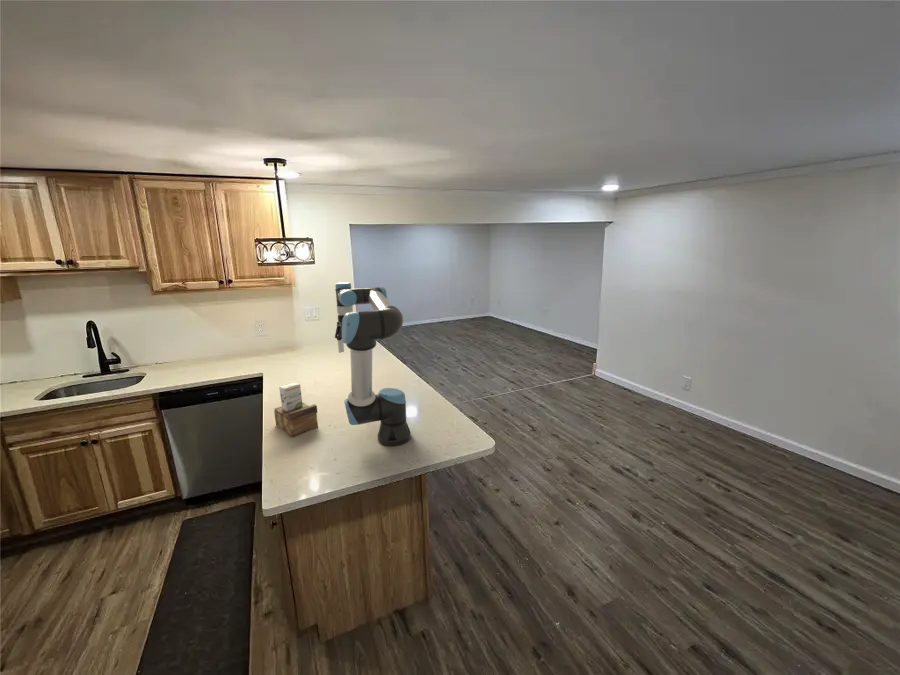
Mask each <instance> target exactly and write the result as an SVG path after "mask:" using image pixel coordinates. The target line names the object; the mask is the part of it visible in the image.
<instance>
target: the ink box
mask: <svg viewBox="0 0 900 675" xmlns="http://www.w3.org/2000/svg"><path fill="white" fill-rule="evenodd" d="M278 388H279V396H280V404H281V407H282V409H283V410H285V411H290V410H293V409H295V408H298V407H301V406H303V405H302V402H303V397H302V390H301V384H300V383H298V382H295V381H294V382H292V383H288V384H285V385H281V386H279V387H278Z"/></svg>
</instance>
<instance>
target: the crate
mask: <svg viewBox="0 0 900 675" xmlns="http://www.w3.org/2000/svg"><path fill="white" fill-rule="evenodd" d="M273 411H274V412H273V413H274V419H275V426H277V427H278V428H279V429H281V430H282V431H283V432H285V434H287V435H288V436H290V437H291V438H294V437H296V436H300V435H302V434H305V433H308V432H310V431H313V430H316V429H318V428H319V423H318V414H317V413H318V412H317V413H315V414H312V415H309V416H306V417H303V418H301V419H298V420H295V421H292V422H291V421H289V420H288V419H287V418H285V417H284V416H282V415H281V414H279V413H278V412H277V411H275V409H273Z"/></svg>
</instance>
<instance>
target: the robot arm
mask: <svg viewBox="0 0 900 675" xmlns="http://www.w3.org/2000/svg"><path fill="white" fill-rule="evenodd" d="M334 288H335V289H334V291H335V298H336V312H337V321H336V329H335V335H334V339H336V340H337V345H338V353H339V354H340V353H345V346H344V344H345V345H346V347H347V348H348V349H350V351H349V352H350V381H351V382H350V383H351V390H350V392H349V394H348V396H347V398H345V399H344V407H345V410H346V414H347V415H346V416H347V418H348V423H349V425H351V426H359V425H363V424H370V423H375V422H380V425H379V429H378V432H377V441H378V443H379V444H381V445H383V446H388V447H398V446H402V445H405V444H406V443H408V442H409V441H410V440H411V438H412V436H411V435H412V434H411V433H412V432H411V430H410V426H409V424H408V422H407V407H406V406H407V400H406V395H405V392H404V391H403V390H402V389H398V388H394V387H393V388H392V387H384V388H382V389H380V390H379V391H378V394H377V393H375V392H374V391H373V350H374V348H376V346H377V341H381V340H383V341H384V340H389V339H391V338H393V337H394V336H396V335H397V334H398V333H399V332H400V331H401V329H402V327H403V324H404V315H403V313H402V312H401V311H400V309H398V308H397V306H395V305H394V306H393V304H392V303H391V302H390V301H389V299H387V298H388V294H387V290H386V288H385V287H383V286H382V287H380V286H377V287H363V288H352V283H351V282H348V281H347V282H342V281H341V282H337V283H335V286H334ZM356 305H357V306H359V305H370V306H371V307H372V308H373V310H365V311H356V310H355V311H354V310H353V307H354V306H356Z"/></svg>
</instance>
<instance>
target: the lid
mask: <svg viewBox="0 0 900 675" xmlns="http://www.w3.org/2000/svg"><path fill="white" fill-rule="evenodd" d="M302 405H303V406H301V407H298V408H295V409H293V410H290V411H285V410H283V409H282V406H278V407H276V408H274V410H275V411H277V412H278V413H279V414H281V415H282V416H284V417H285V418H287V419H288V420H289V421H291V422H292V421H295V420H298V419H301V418H303V417H306V416H309V415H312V414H315V413H318V405H317V404H311V405H308V404H306V403H305V402H303V401H302Z"/></svg>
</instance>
